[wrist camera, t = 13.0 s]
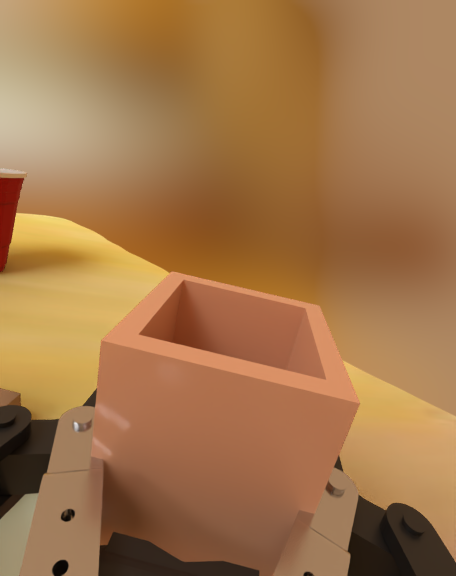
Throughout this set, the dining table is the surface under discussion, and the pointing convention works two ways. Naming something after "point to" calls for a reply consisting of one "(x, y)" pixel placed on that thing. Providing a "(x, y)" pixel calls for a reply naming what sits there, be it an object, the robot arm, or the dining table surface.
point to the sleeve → (218, 420)
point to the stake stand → (9, 398)
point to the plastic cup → (8, 208)
